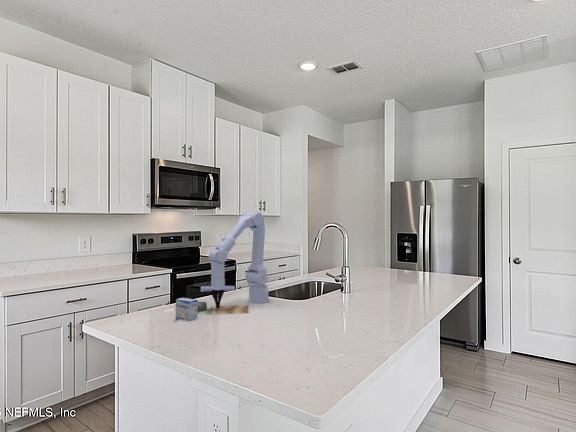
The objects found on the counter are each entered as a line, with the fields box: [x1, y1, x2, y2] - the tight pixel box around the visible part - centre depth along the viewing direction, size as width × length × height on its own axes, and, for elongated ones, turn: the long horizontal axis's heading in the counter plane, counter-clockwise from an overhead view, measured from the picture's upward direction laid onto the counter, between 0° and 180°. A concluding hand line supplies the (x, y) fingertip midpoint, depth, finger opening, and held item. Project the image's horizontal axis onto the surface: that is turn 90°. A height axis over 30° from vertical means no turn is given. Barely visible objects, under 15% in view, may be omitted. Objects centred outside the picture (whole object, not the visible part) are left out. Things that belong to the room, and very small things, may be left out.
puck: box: [197, 301, 208, 312], centre depth 165 cm, size 6×6×3 cm
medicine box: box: [175, 297, 199, 322], centre depth 152 cm, size 8×4×9 cm, turn 62°
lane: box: [197, 304, 249, 316], centre depth 165 cm, size 28×14×1 cm, turn 97°
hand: (217, 307), depth 166 cm, fingers closed
